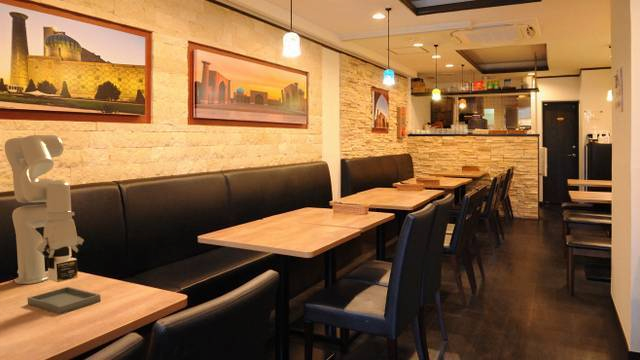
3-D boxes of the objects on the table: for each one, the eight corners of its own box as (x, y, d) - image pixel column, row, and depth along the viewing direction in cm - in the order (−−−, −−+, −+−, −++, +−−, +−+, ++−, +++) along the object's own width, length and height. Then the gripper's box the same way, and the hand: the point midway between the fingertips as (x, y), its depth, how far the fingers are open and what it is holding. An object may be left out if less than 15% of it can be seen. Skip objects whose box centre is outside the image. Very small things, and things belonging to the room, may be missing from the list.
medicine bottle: (57, 282, 165) (55, 249, 164) (48, 279, 169) (46, 246, 169) (78, 278, 171) (76, 245, 170) (68, 275, 175) (66, 243, 174)
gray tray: (27, 304, 170) (27, 297, 169) (68, 292, 182) (68, 286, 182) (60, 314, 159) (59, 307, 159) (100, 301, 172) (100, 294, 172)
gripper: (76, 212, 178) (79, 259, 179) (28, 219, 163) (31, 270, 164) (88, 214, 174) (91, 261, 175) (40, 221, 159) (43, 272, 160)
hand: (62, 265), depth 170 cm, fingers closed on medicine bottle, 7 cm apart
